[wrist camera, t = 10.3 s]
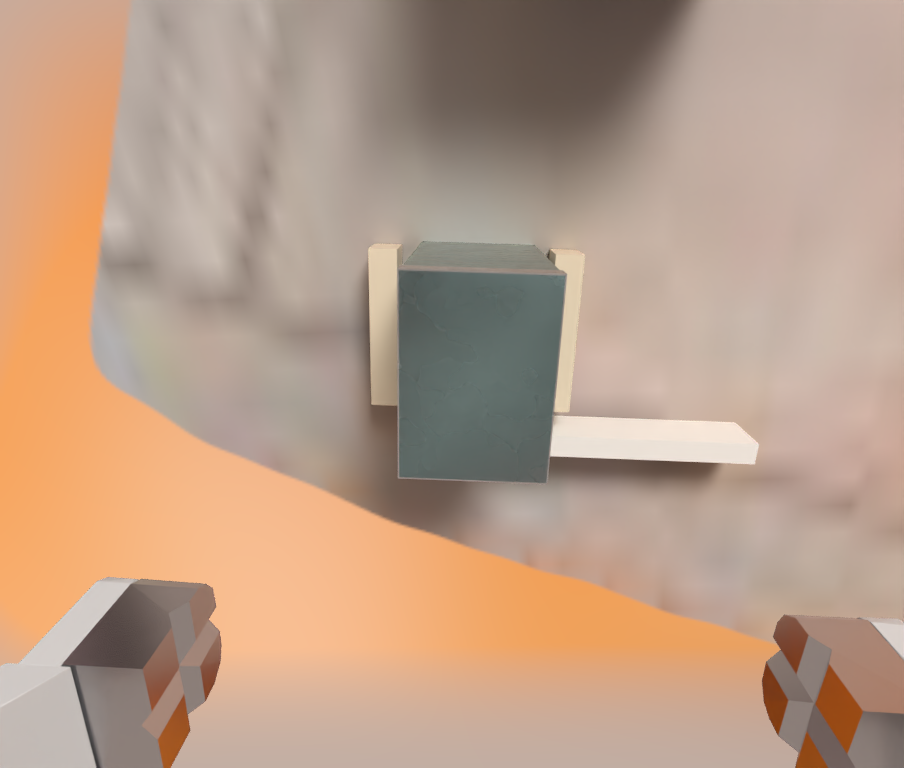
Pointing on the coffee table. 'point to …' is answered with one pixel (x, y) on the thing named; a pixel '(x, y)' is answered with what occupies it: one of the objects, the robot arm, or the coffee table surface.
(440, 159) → the coffee table surface
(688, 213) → the coffee table surface
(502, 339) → the tea tin
